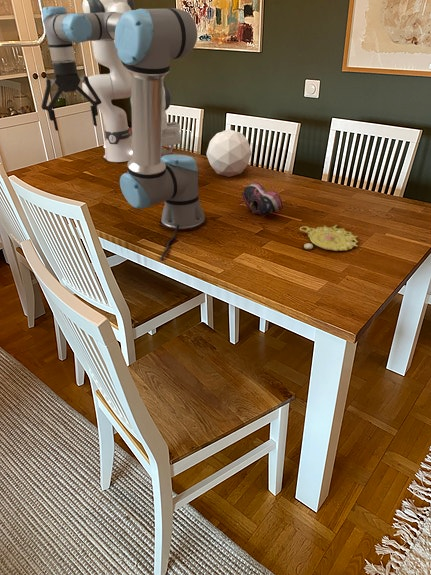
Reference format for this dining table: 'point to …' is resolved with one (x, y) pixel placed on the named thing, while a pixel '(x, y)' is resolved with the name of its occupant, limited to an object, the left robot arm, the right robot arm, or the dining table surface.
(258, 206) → the athletic shoe
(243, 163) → the sphere
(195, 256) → the dining table surface
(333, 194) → the dining table surface
